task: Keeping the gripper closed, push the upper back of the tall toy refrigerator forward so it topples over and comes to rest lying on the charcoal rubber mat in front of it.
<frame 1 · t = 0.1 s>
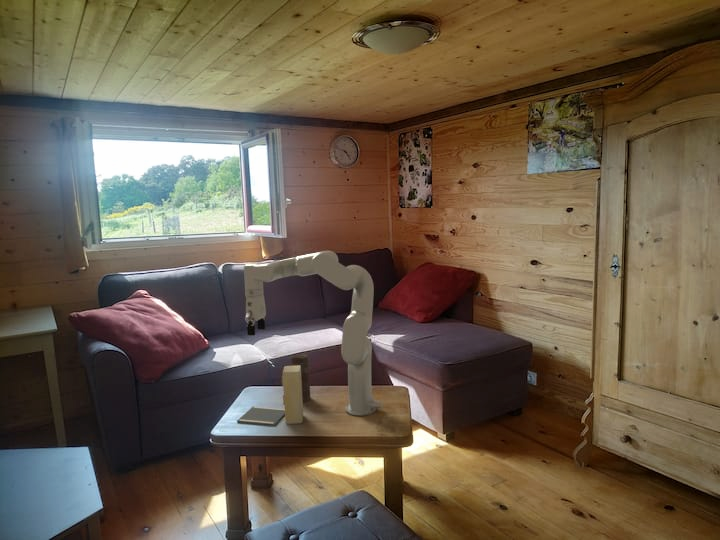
hand: (256, 332, 210), 31 cm above the table, fingers open, 9 cm apart
mat: (263, 416, 198), on the table
brown rounded cylinder: (301, 399, 215), on the table
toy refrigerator: (293, 420, 195), on the table
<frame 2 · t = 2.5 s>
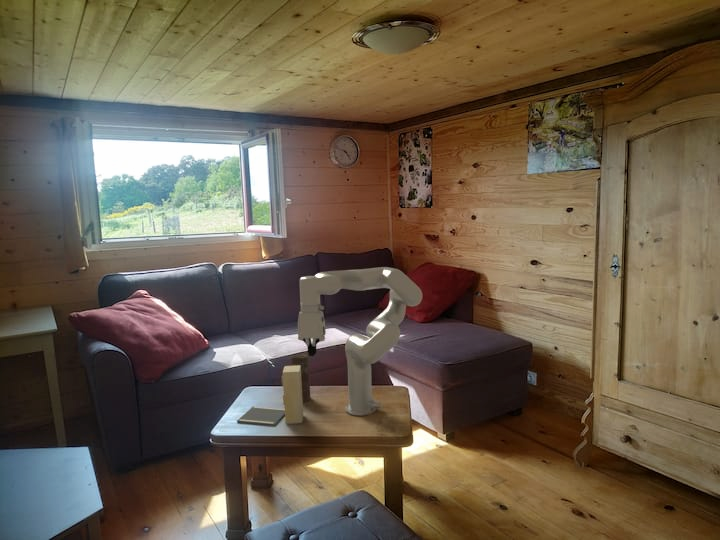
hand: (312, 355, 189), 27 cm above the table, fingers closed
nothing on the table moved.
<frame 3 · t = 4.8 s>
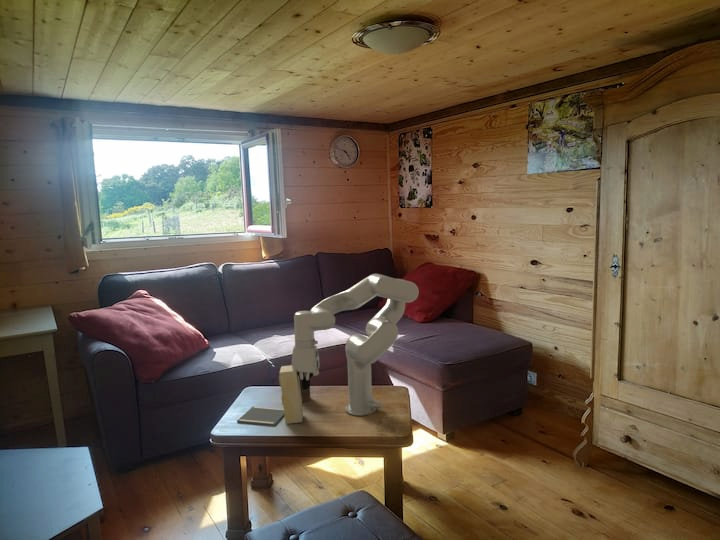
hand: (306, 388, 192), 13 cm above the table, fingers closed
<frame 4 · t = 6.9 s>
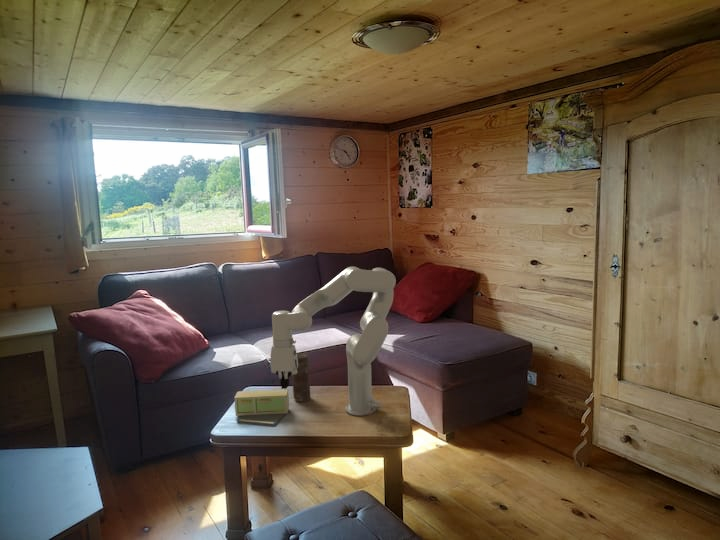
hand: (285, 387, 194), 13 cm above the table, fingers closed
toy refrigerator: (288, 401, 201), point 5 cm above the table, touching mat
everything else where it was.
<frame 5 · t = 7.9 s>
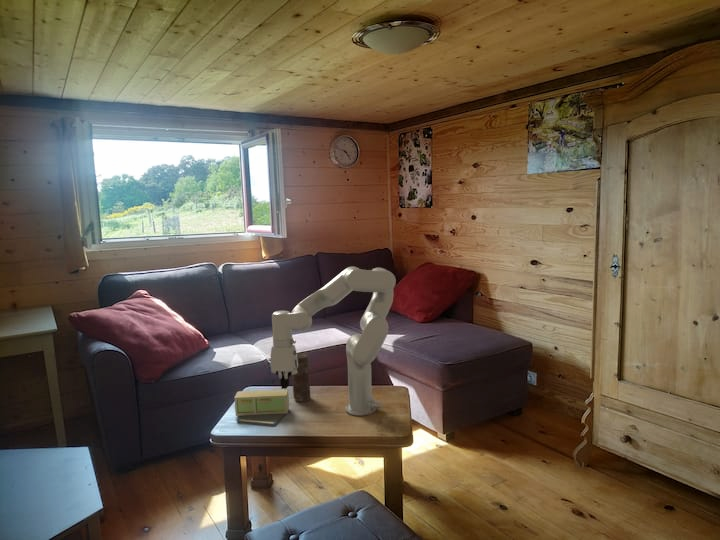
hand: (285, 387, 194), 13 cm above the table, fingers closed
nothing on the table moved.
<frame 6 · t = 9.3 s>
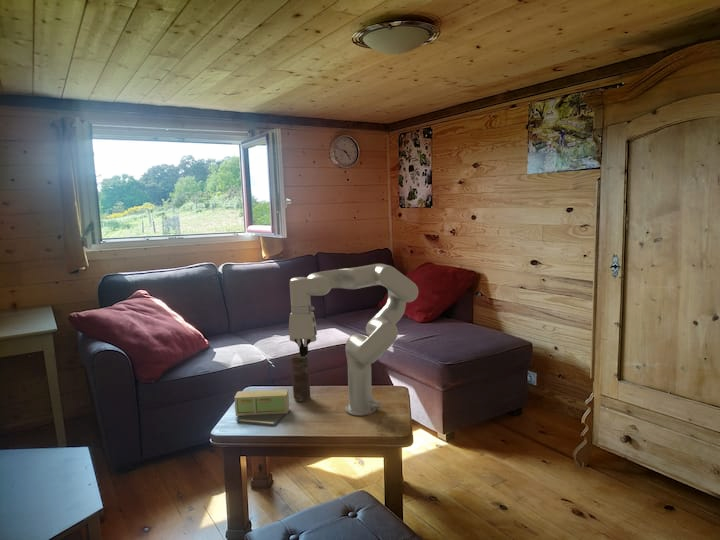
hand: (304, 355, 191), 26 cm above the table, fingers closed
nothing on the table moved.
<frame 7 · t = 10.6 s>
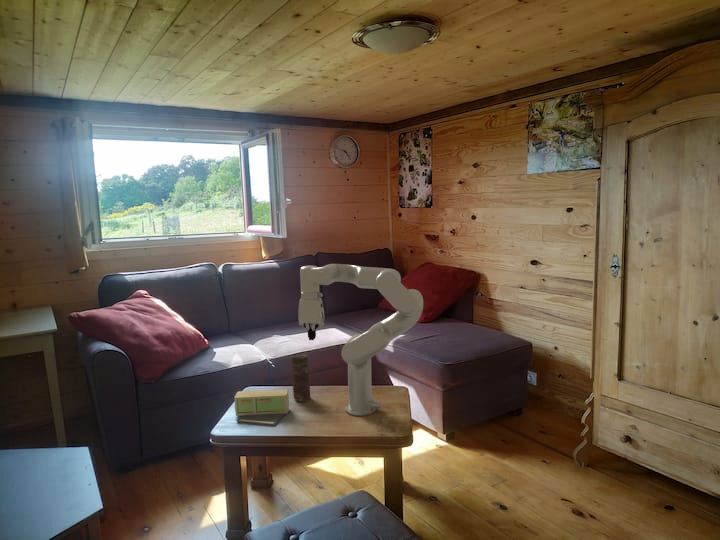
hand: (312, 339, 204), 29 cm above the table, fingers closed
nothing on the table moved.
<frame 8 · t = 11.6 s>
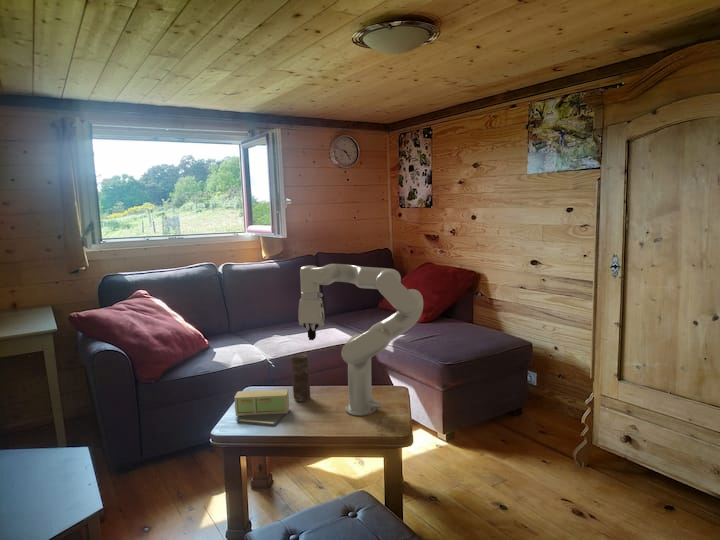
hand: (312, 339, 204), 29 cm above the table, fingers closed
nothing on the table moved.
at the end: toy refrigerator tilted 90°; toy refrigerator inside the target area (6.6 cm from its centre), point 4.7 cm above the table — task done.
